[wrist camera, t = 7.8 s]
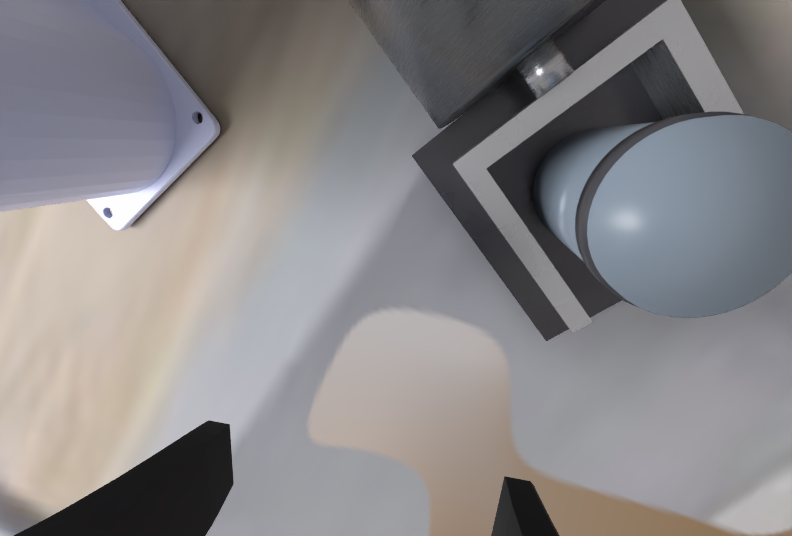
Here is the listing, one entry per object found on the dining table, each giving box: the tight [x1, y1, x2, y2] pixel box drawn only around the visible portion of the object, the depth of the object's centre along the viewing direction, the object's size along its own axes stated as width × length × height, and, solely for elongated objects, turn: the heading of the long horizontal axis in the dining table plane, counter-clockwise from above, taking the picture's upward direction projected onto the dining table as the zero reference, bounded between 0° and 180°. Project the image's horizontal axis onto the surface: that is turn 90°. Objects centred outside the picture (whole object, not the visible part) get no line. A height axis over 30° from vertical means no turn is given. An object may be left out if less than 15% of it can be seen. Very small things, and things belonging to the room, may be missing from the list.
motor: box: [349, 0, 744, 341], centre depth 12 cm, size 19×10×7 cm, turn 38°
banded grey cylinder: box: [533, 112, 792, 318], centre depth 12 cm, size 5×5×7 cm
